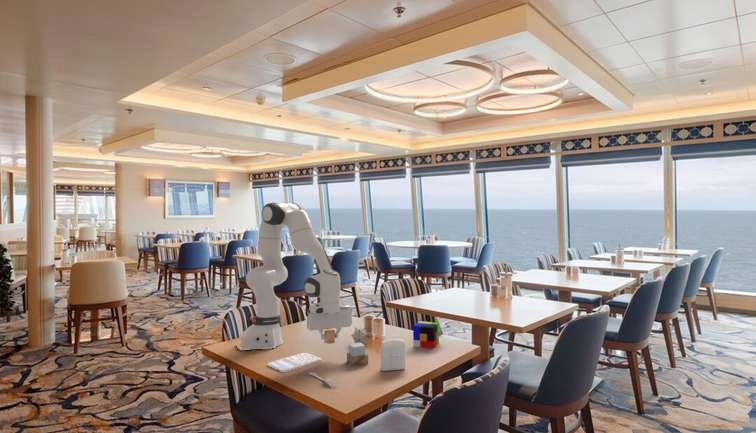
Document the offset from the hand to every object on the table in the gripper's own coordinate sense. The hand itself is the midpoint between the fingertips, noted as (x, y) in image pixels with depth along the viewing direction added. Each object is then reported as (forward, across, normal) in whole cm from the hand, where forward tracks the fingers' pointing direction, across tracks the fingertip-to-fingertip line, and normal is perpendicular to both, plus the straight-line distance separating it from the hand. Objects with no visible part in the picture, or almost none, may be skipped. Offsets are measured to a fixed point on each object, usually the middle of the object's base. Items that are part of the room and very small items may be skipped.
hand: (329, 338), depth 193 cm
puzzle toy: (+8, -49, +2) cm, 50 cm away
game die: (+9, -21, -13) cm, 26 cm away
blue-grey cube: (+5, -9, +11) cm, 15 cm away
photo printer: (+8, -19, +25) cm, 32 cm away
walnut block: (+9, -9, +11) cm, 17 cm away
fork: (+9, +11, +23) cm, 27 cm away
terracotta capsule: (+2, 0, 0) cm, 2 cm away
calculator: (+10, +15, -1) cm, 18 cm away
